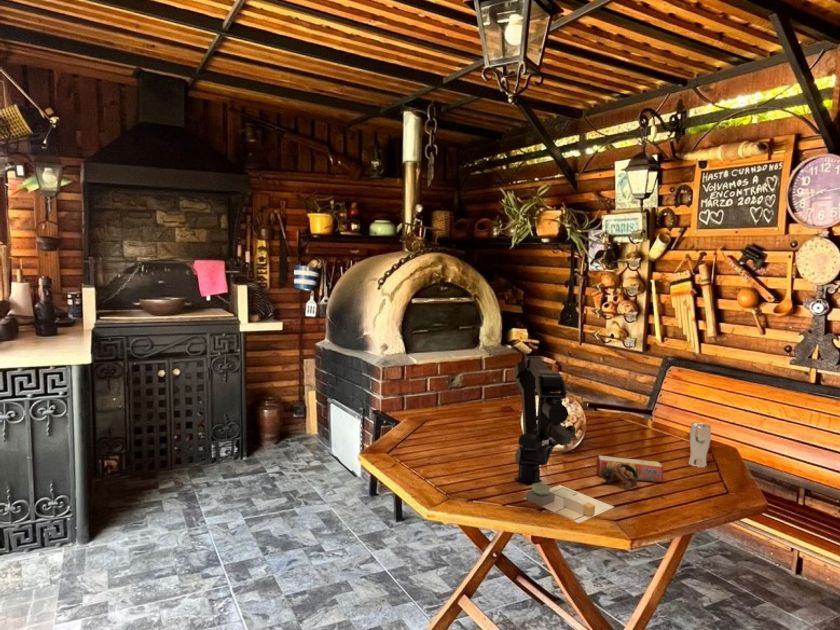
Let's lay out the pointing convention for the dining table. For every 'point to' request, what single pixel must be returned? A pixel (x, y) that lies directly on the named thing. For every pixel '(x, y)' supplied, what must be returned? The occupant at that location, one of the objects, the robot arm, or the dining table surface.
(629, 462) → the snack package
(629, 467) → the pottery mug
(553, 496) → the button housing
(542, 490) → the button
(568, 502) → the marker
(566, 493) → the picture board
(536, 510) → the dining table surface
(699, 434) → the beer glass
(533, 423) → the robot arm
